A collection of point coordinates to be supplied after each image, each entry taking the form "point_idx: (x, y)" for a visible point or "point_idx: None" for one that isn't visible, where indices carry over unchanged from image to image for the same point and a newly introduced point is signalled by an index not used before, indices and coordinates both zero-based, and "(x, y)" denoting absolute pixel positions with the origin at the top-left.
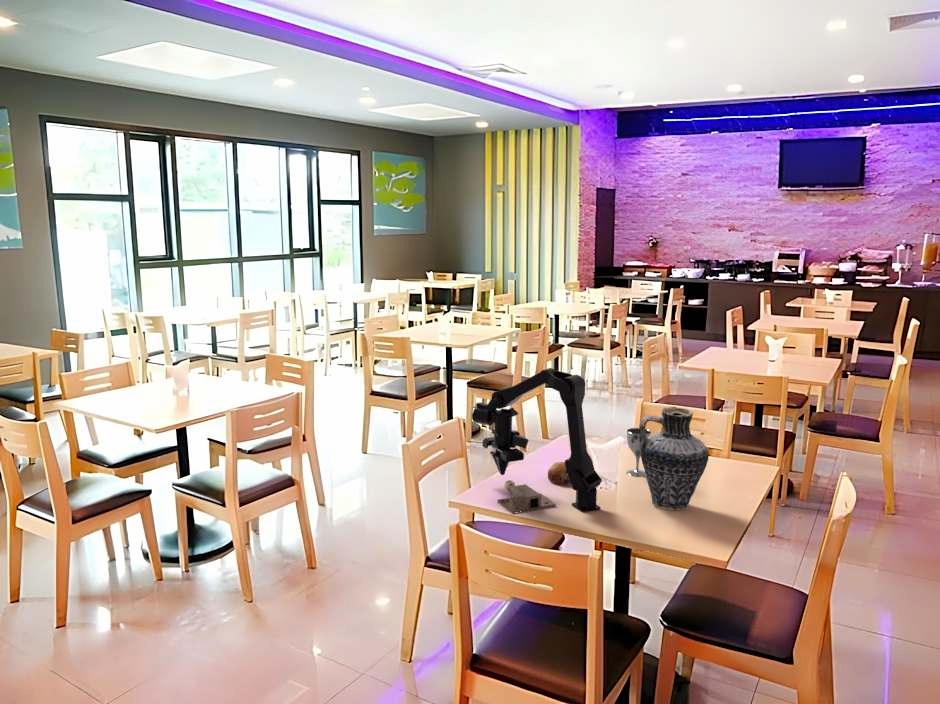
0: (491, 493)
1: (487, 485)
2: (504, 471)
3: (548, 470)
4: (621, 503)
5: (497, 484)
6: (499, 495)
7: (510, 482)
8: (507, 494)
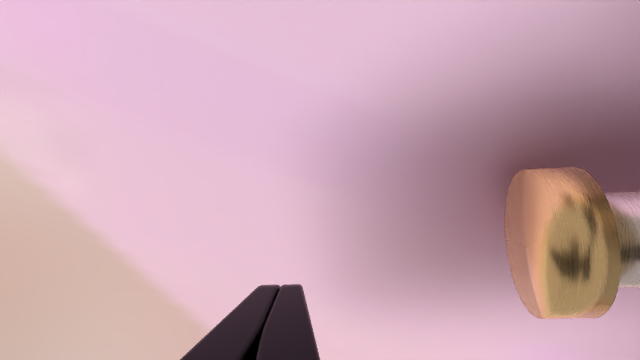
0: (459, 350)
1: None
2: (311, 334)
3: None
4: None
5: (231, 220)
6: None
7: (607, 279)
8: None
